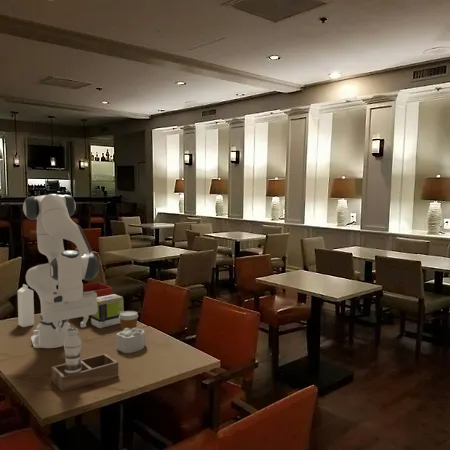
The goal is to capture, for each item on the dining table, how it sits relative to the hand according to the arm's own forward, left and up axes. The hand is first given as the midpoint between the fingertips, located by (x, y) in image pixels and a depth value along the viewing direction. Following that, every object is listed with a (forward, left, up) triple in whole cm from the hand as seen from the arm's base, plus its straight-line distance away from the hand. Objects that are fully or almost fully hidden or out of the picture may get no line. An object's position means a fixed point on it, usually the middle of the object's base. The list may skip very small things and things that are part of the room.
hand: (71, 329), depth 167 cm
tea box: (-58, +42, -21) cm, 75 cm away
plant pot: (-78, +41, -21) cm, 91 cm away
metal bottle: (0, 0, -20) cm, 20 cm away
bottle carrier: (0, +5, -21) cm, 22 cm away
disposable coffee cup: (-32, +41, -21) cm, 56 cm away
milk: (-83, +7, -21) cm, 86 cm away
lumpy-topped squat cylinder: (-18, +35, -21) cm, 45 cm away
